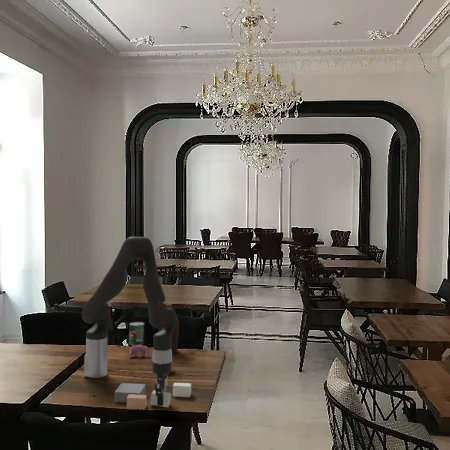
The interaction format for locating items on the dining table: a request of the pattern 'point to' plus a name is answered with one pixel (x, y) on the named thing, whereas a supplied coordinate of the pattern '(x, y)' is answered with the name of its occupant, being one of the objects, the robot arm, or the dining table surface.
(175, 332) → the brown bottle
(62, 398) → the dining table surface
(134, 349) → the video game controller
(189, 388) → the cream brick
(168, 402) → the sage brick
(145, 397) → the terracotta brick
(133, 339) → the canned tomato
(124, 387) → the charcoal block
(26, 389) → the dining table surface
